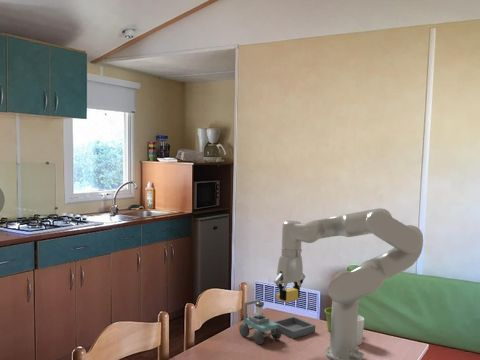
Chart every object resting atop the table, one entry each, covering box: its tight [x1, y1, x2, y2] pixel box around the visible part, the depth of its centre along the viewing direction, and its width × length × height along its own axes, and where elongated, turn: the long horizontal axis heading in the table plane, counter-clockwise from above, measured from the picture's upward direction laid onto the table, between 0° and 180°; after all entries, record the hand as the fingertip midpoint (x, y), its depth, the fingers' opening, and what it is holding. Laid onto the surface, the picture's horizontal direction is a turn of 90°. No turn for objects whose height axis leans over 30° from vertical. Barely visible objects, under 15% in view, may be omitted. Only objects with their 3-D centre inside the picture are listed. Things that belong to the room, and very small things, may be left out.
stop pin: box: [254, 300, 265, 320], centre depth 183 cm, size 4×4×8 cm
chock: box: [275, 287, 299, 303], centre depth 176 cm, size 6×6×4 cm
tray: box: [272, 315, 316, 340], centre depth 191 cm, size 13×13×3 cm
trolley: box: [238, 299, 282, 346], centre depth 182 cm, size 14×10×14 cm
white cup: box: [356, 314, 365, 346], centre depth 181 cm, size 8×8×10 cm
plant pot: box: [324, 307, 332, 333], centre depth 192 cm, size 9×9×9 cm
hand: (289, 297), depth 175 cm, fingers closed on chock, 6 cm apart
